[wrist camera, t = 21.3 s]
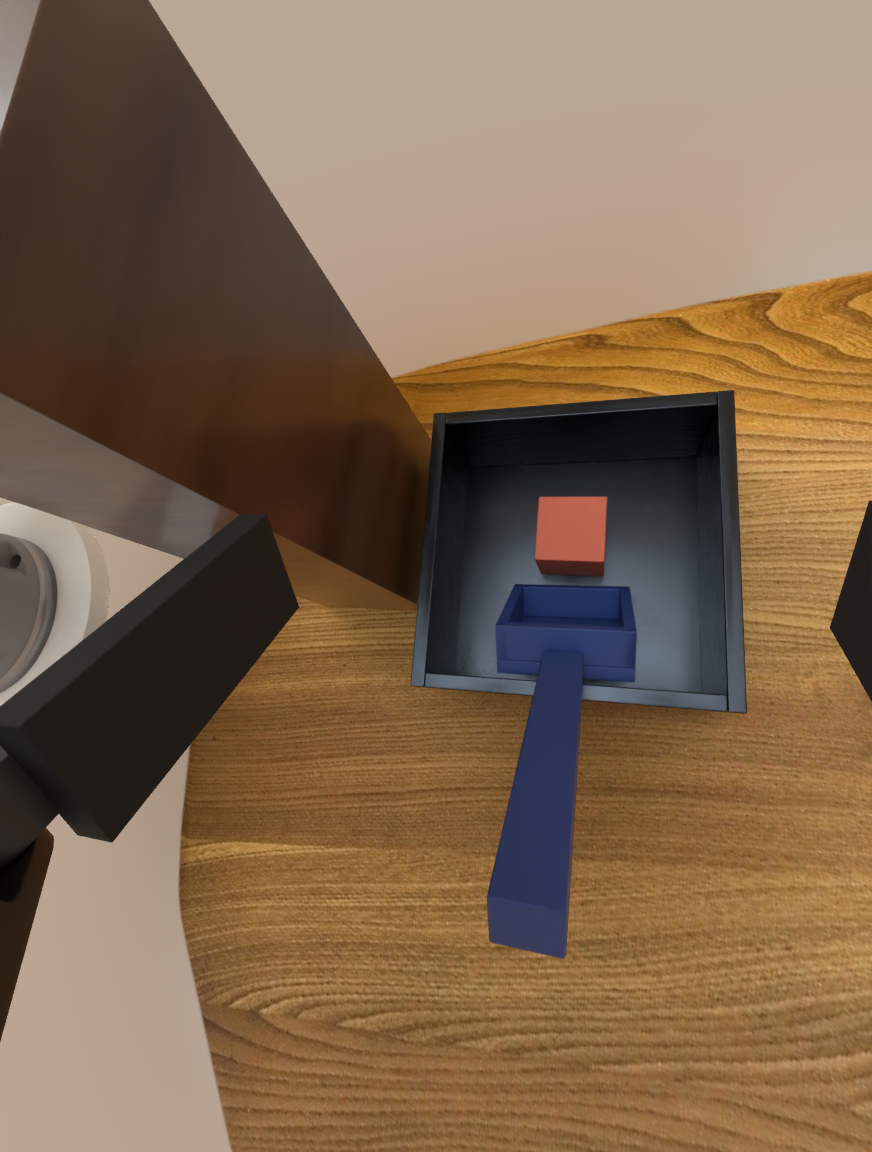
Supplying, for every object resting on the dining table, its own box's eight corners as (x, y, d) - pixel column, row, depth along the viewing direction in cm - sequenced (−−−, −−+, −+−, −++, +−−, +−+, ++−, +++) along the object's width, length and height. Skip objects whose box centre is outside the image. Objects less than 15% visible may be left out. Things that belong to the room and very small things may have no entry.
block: (544, 517, 36) (540, 574, 35) (538, 496, 32) (534, 559, 31) (606, 517, 35) (603, 576, 34) (607, 496, 31) (604, 562, 30)
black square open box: (445, 687, 36) (410, 686, 29) (461, 462, 39) (433, 413, 32) (714, 709, 31) (747, 713, 24) (706, 450, 34) (734, 389, 28)
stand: (328, 606, 40) (-305, 395, 12) (345, 460, 42) (-146, -5, 14) (428, 610, 38) (-67, 358, 9) (440, 454, 40) (76, -115, 12)
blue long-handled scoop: (400, 924, 15) (391, 843, 14) (516, 623, 35) (514, 583, 34) (672, 985, 13) (679, 896, 12) (628, 628, 33) (629, 586, 32)
